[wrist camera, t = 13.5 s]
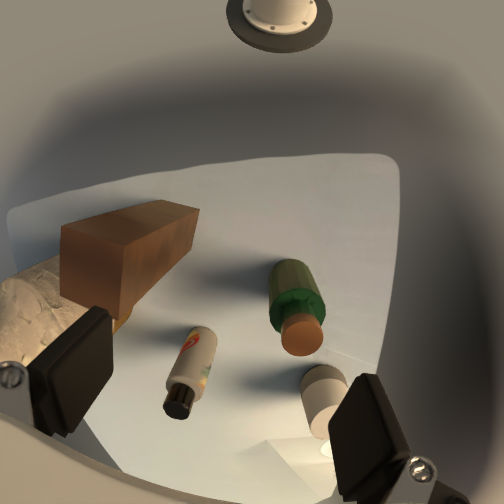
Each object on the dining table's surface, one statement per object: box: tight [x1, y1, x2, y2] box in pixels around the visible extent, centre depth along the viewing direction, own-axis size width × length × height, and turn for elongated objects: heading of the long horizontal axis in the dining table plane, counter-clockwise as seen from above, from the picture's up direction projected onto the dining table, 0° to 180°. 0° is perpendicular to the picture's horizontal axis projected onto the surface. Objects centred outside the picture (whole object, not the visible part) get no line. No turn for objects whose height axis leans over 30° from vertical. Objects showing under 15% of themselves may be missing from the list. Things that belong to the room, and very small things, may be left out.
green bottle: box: [269, 259, 326, 334], centre depth 40 cm, size 7×7×17 cm
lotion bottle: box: [163, 327, 217, 420], centre depth 42 cm, size 6×6×20 cm
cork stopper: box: [281, 313, 323, 356], centre depth 32 cm, size 5×5×5 cm
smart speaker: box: [300, 365, 348, 439], centre depth 46 cm, size 10×9×14 cm
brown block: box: [59, 200, 200, 321], centre depth 34 cm, size 7×7×26 cm
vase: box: [0, 254, 133, 367], centre depth 36 cm, size 18×18×30 cm
